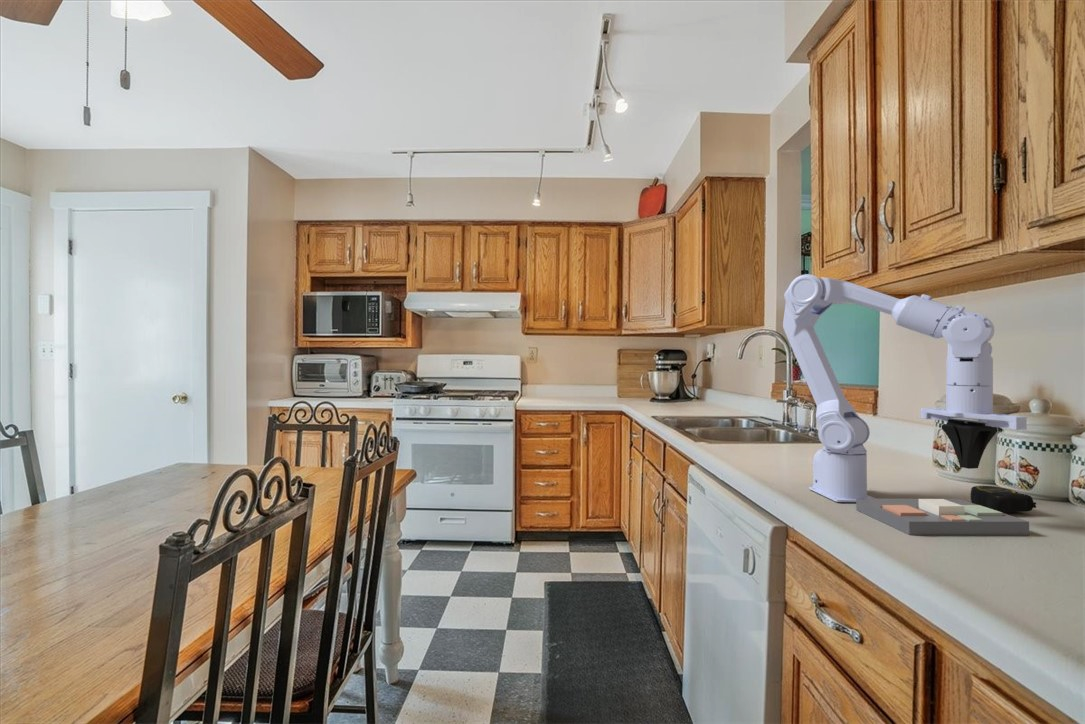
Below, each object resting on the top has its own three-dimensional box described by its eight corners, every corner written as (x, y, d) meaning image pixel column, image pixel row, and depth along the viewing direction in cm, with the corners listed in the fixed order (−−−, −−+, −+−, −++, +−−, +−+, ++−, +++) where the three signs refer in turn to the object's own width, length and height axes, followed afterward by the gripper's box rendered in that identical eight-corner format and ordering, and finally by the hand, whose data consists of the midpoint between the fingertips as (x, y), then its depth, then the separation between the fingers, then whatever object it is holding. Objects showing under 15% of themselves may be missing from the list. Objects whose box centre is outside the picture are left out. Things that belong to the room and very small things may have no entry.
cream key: (918, 512, 77) (918, 498, 77) (942, 512, 77) (942, 498, 77) (939, 520, 73) (938, 506, 73) (964, 520, 73) (964, 506, 73)
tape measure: (997, 517, 79) (997, 495, 79) (960, 505, 85) (959, 484, 85) (1036, 516, 79) (1036, 494, 79) (996, 504, 86) (996, 484, 86)
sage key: (955, 518, 77) (954, 505, 77) (979, 518, 77) (979, 505, 77) (977, 526, 73) (977, 512, 73) (1003, 526, 73) (1002, 512, 73)
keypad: (856, 509, 82) (856, 497, 82) (958, 509, 82) (958, 497, 82) (909, 534, 70) (909, 520, 70) (1029, 534, 70) (1029, 520, 70)
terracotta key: (882, 518, 77) (882, 505, 77) (906, 518, 77) (906, 505, 77) (900, 526, 73) (900, 512, 73) (926, 526, 73) (926, 512, 73)
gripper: (906, 383, 83) (906, 459, 83) (1000, 387, 69) (1000, 479, 69) (938, 383, 84) (938, 458, 84) (1037, 387, 70) (1037, 477, 70)
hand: (968, 467), depth 77 cm, fingers closed
